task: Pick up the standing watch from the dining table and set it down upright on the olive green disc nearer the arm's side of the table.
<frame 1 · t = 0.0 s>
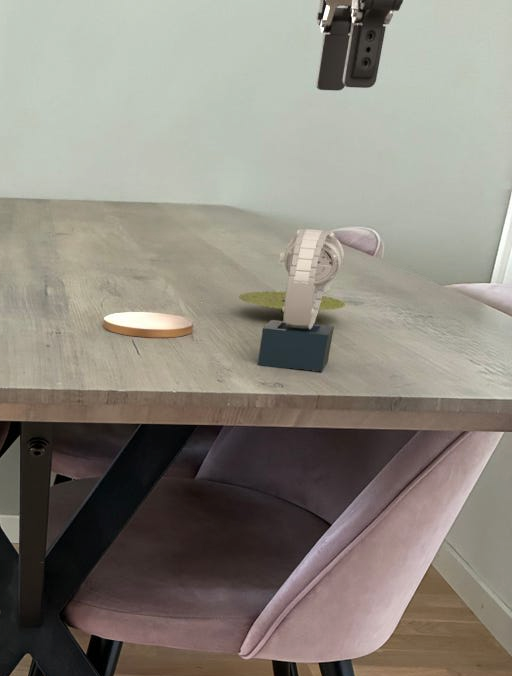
hand: (343, 88, 72), 21 cm above the table, tool pointing down, fingers open, 8 cm apart
coaster: (147, 328, 96), on the table
watch: (292, 365, 85), on the table
olive green disc: (288, 319, 104), on the table
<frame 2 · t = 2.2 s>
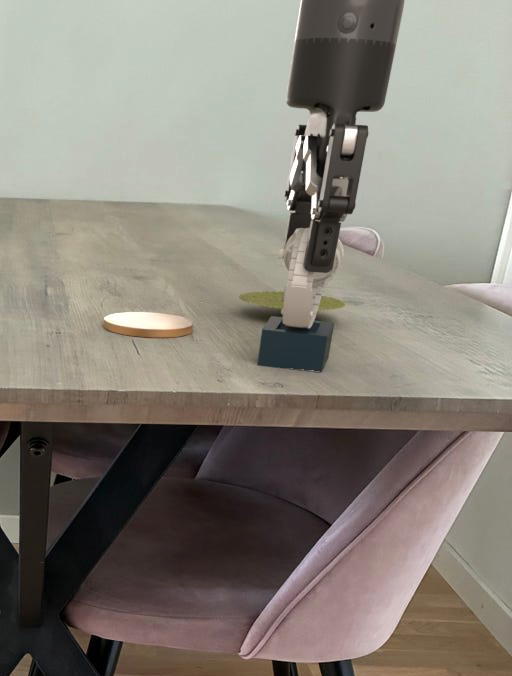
hand: (305, 265, 80), 8 cm above the table, tool pointing down, fingers closed on watch, 8 cm apart
watch: (292, 363, 85), on the table, touching gripper
everything else where it was.
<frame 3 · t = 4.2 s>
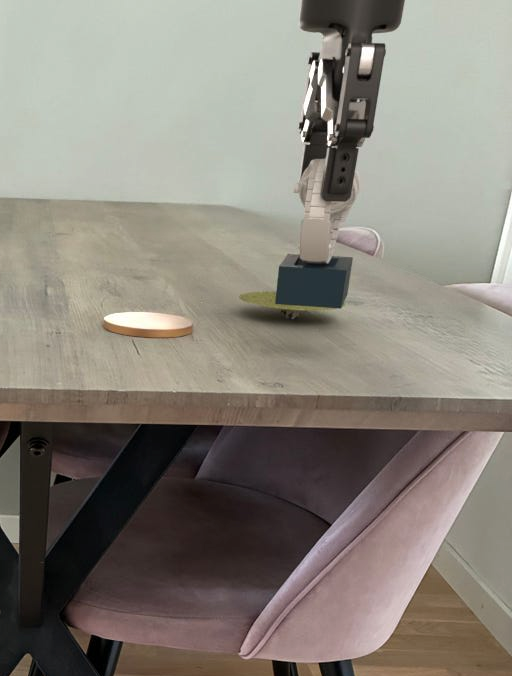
hand: (321, 196, 78), 13 cm above the table, tool pointing down, fingers closed on watch, 8 cm apart
watch: (310, 301, 83), point 5 cm above the table, touching gripper
everything else where it was.
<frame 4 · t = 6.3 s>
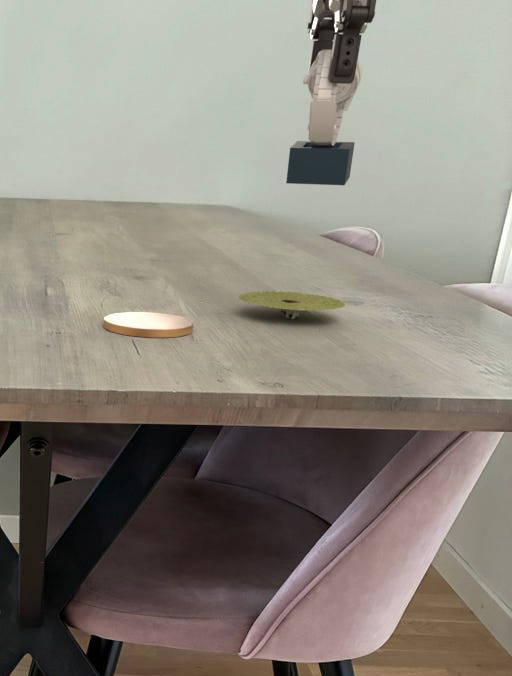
hand: (328, 84, 89), 22 cm above the table, tool pointing down, fingers closed on watch, 8 cm apart
watch: (317, 182, 94), point 14 cm above the table, touching gripper
everything else where it was.
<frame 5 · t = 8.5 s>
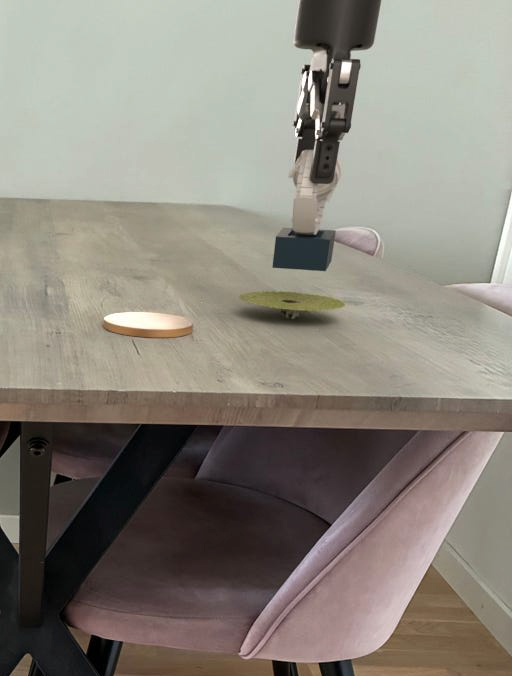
hand: (311, 180, 97), 14 cm above the table, tool pointing down, fingers closed on watch, 8 cm apart
watch: (301, 266, 102), point 5 cm above the table, touching gripper
everything else where it was.
when the fingers open (10 cm above the table, at t = 10.4 s): watch stays where it is, resting on olive green disc.
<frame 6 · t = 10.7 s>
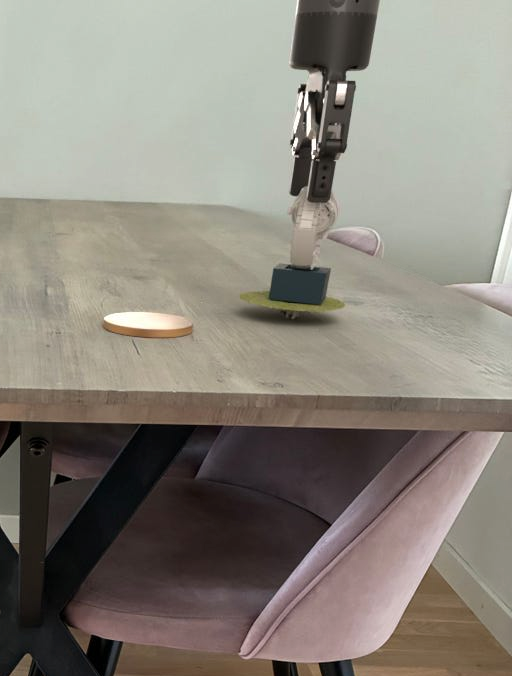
hand: (307, 199, 98), 12 cm above the table, tool pointing down, fingers open, 8 cm apart
watch: (296, 300, 104), point 2 cm above the table, touching olive green disc
olive green disc: (288, 319, 104), on the table, touching watch
everything else where it was.
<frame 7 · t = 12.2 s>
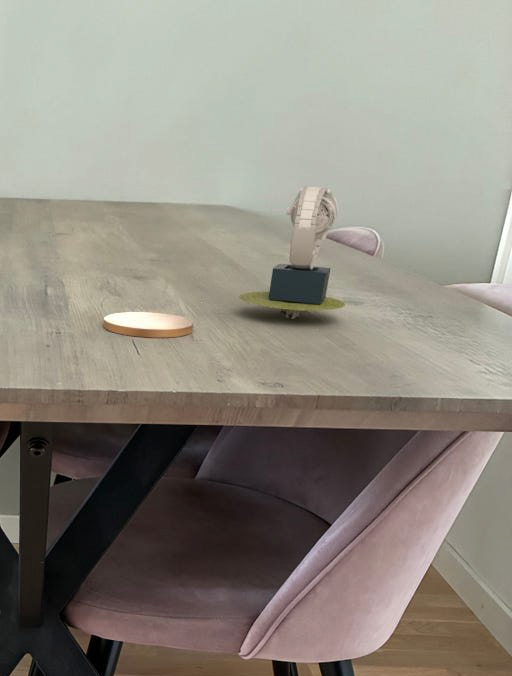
nothing on the table moved.
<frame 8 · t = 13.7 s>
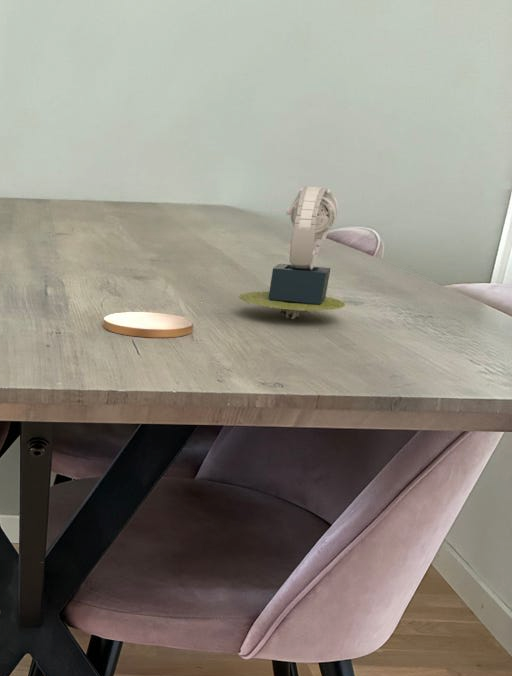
nothing on the table moved.
at the end: watch inside the target area on the olive green disc (1.0 cm from its centre), point 2.0 cm above the olive green disc's base; watch tilted 0°; the gripper is holding nothing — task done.
